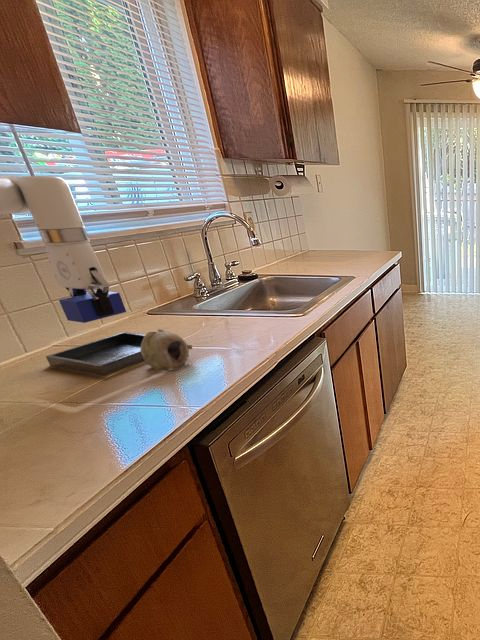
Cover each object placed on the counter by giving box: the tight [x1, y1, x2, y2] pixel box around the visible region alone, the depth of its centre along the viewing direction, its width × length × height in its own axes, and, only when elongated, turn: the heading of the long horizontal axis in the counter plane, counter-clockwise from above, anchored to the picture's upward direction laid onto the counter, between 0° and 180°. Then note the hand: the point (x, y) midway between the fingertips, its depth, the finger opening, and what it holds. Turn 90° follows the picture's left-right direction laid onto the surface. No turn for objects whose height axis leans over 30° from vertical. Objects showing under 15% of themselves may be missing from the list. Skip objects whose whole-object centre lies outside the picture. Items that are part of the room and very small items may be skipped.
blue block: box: [58, 291, 127, 324], centre depth 96 cm, size 6×9×5 cm, turn 162°
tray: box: [45, 331, 146, 377], centre depth 101 cm, size 20×18×3 cm
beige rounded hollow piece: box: [141, 328, 194, 371], centre depth 96 cm, size 9×8×10 cm
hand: (96, 312), depth 97 cm, fingers closed on blue block, 6 cm apart
